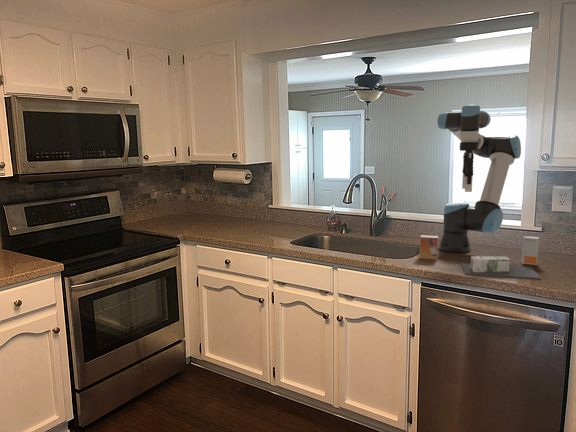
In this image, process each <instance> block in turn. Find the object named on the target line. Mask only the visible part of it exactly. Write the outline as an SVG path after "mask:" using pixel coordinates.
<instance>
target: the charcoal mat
mask: <svg viewBox="0 0 576 432" xmlns="http://www.w3.org/2000/svg"><path fill="white" fill-rule="evenodd" d="M461 266H462V269H463V272H464V275H465V276H482V277H494V278H495V277H499V278H510V279H511V278H513V279H514V278H515V279H530V280H541V278H542V277H540V276H539V274H538V273H537V272H536V271H535V270H534V269H533V267H531V266H514V265H513V266H512V265H510V273H491V272H473V271H472V270H471V263H461Z"/></svg>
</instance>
